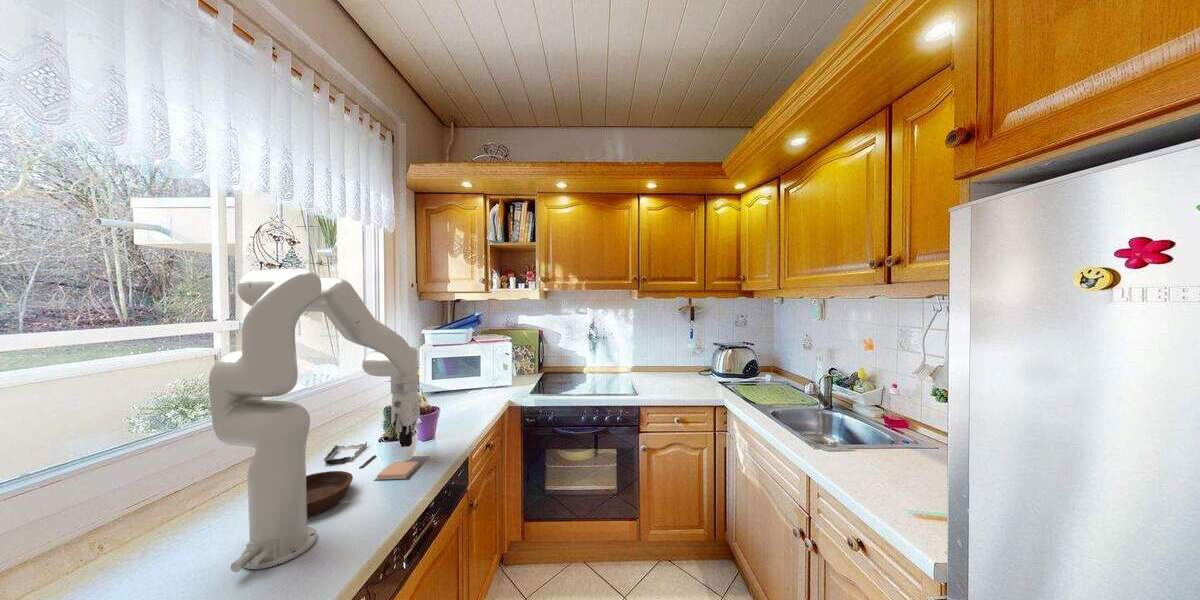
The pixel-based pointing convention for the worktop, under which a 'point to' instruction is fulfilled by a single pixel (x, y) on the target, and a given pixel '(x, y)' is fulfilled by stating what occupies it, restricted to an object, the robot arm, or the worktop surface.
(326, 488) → the dish
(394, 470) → the tile
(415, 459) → the mat
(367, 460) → the dark grey thin rod
